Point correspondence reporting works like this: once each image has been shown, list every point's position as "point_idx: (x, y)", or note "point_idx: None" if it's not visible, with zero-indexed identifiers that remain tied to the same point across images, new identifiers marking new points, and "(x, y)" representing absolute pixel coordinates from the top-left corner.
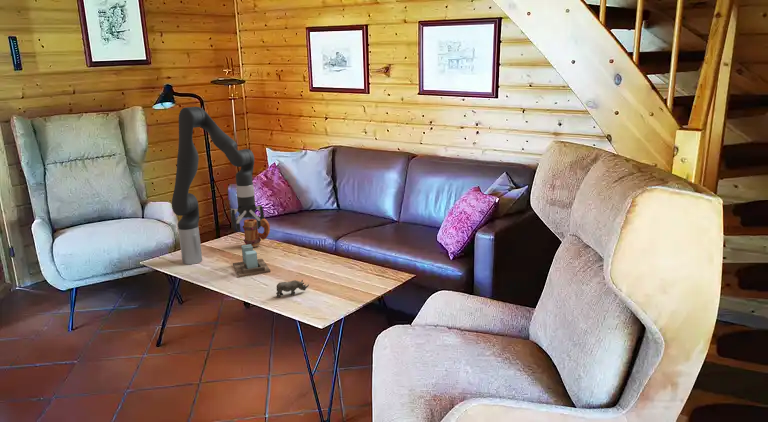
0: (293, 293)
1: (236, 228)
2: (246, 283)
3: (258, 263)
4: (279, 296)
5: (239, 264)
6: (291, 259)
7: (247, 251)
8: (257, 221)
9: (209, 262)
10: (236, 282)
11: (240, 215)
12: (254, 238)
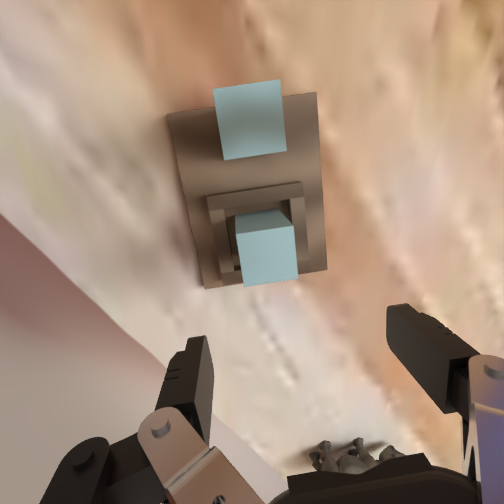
0: (356, 455)
1: (170, 367)
2: (231, 346)
3: (290, 207)
4: (318, 459)
5: (201, 148)
6: (441, 132)
7: (250, 235)
8: (442, 411)
9: (29, 9)
10: (197, 328)
11: (223, 501)
12: None
